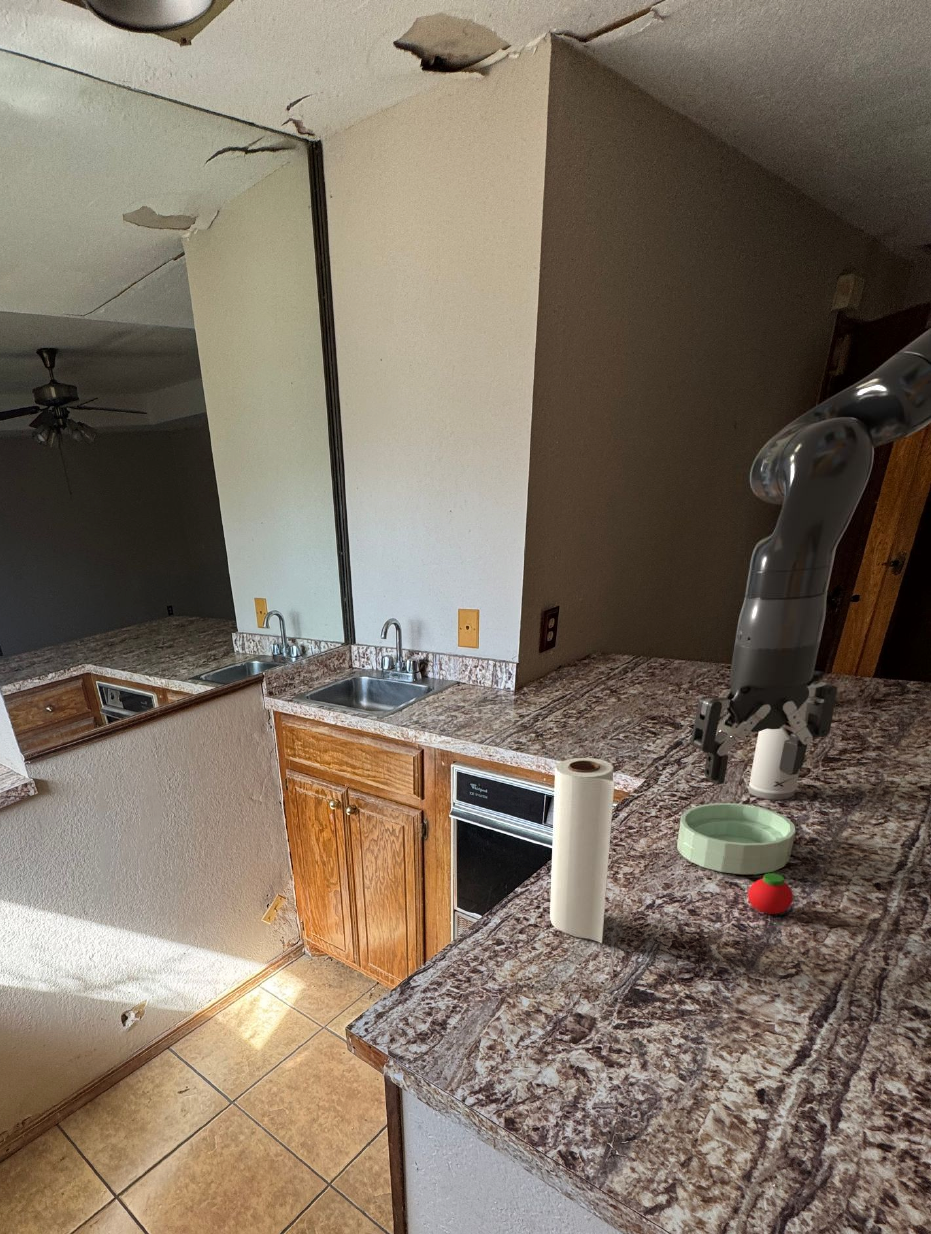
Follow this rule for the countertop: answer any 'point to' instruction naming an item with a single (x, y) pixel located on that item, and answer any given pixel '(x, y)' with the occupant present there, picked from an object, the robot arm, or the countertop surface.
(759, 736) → the travel mug
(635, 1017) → the countertop surface
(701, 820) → the bowl
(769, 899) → the red tomato
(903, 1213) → the countertop surface
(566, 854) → the paper towel roll
